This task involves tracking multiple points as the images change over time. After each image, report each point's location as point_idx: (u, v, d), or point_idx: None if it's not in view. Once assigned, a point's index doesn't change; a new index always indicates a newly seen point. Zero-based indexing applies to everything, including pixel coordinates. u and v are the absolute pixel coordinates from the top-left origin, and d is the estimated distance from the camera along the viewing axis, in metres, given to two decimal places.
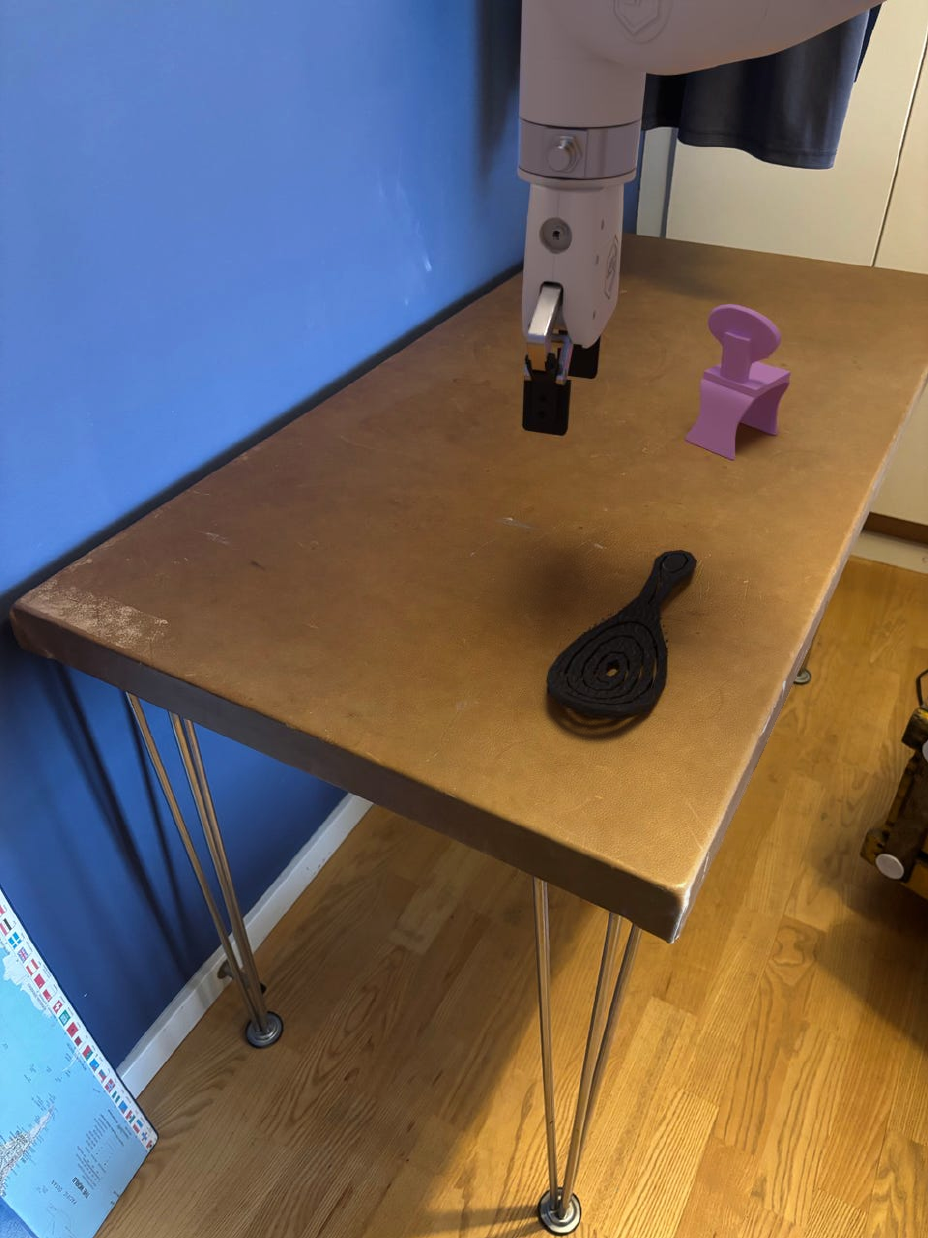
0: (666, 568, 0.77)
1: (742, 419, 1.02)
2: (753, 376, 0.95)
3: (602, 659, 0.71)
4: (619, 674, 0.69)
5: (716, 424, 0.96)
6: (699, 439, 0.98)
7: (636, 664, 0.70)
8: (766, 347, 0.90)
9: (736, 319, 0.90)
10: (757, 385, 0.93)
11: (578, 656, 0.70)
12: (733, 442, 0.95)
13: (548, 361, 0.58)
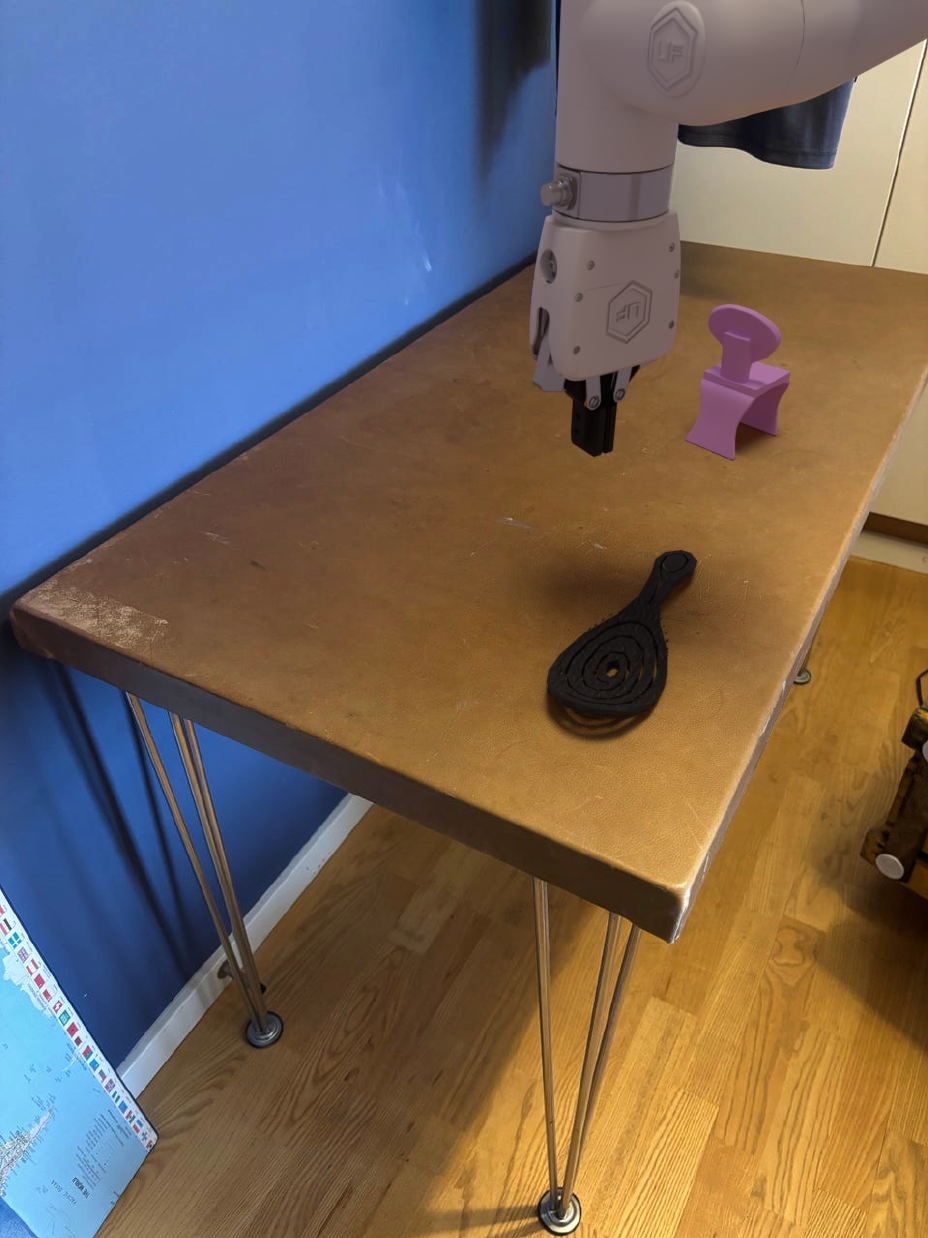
0: (666, 568, 0.77)
1: (742, 419, 1.02)
2: (753, 376, 0.95)
3: (602, 659, 0.71)
4: (619, 674, 0.69)
5: (716, 424, 0.96)
6: (699, 439, 0.98)
7: (636, 664, 0.70)
8: (766, 347, 0.90)
9: (735, 319, 0.90)
10: (757, 385, 0.93)
11: (578, 656, 0.70)
12: (733, 442, 0.95)
13: (566, 388, 0.65)
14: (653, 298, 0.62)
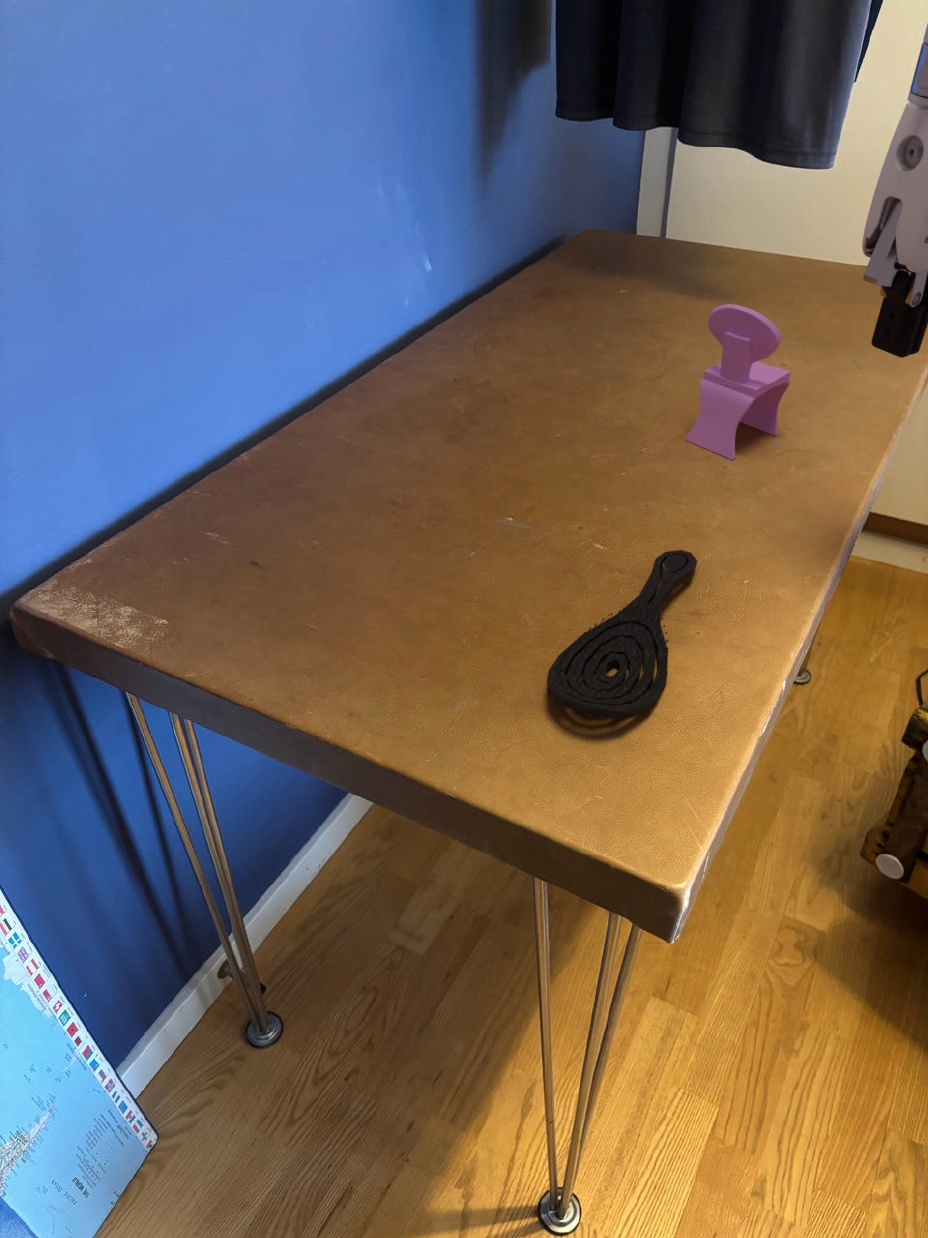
0: (666, 568, 0.77)
1: (742, 419, 1.02)
2: (753, 376, 0.95)
3: (602, 659, 0.71)
4: (619, 674, 0.69)
5: (716, 424, 0.96)
6: (699, 439, 0.98)
7: (636, 664, 0.70)
8: (766, 347, 0.90)
9: (736, 319, 0.90)
10: (757, 385, 0.93)
11: (578, 656, 0.70)
12: (733, 442, 0.95)
13: (894, 283, 0.65)
14: None
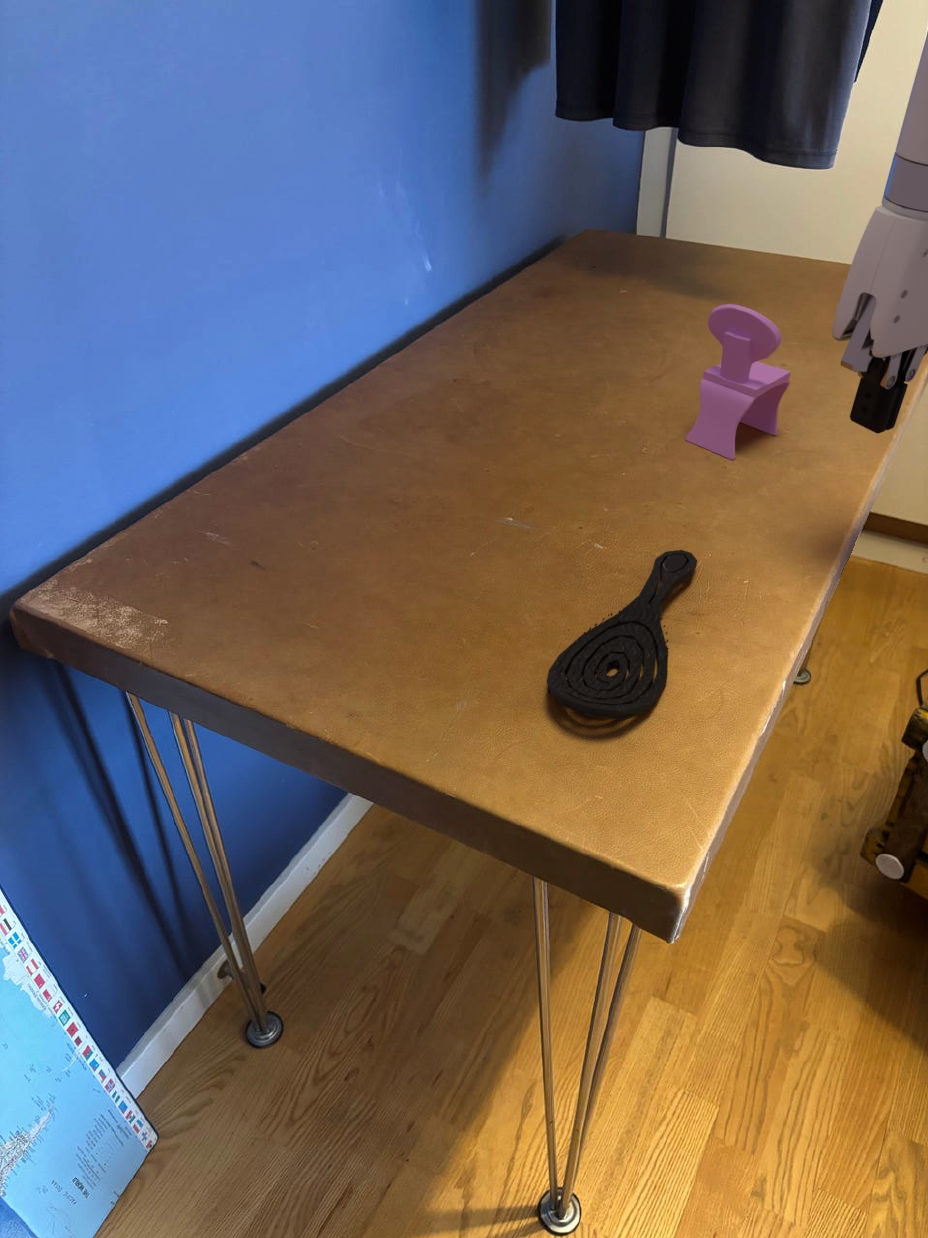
0: (666, 568, 0.77)
1: (742, 419, 1.02)
2: (753, 376, 0.95)
3: (602, 659, 0.71)
4: (619, 674, 0.69)
5: (716, 424, 0.96)
6: (699, 439, 0.98)
7: (636, 664, 0.70)
8: (766, 347, 0.90)
9: (735, 319, 0.90)
10: (757, 385, 0.93)
11: (578, 656, 0.70)
12: (733, 442, 0.95)
13: None
14: None
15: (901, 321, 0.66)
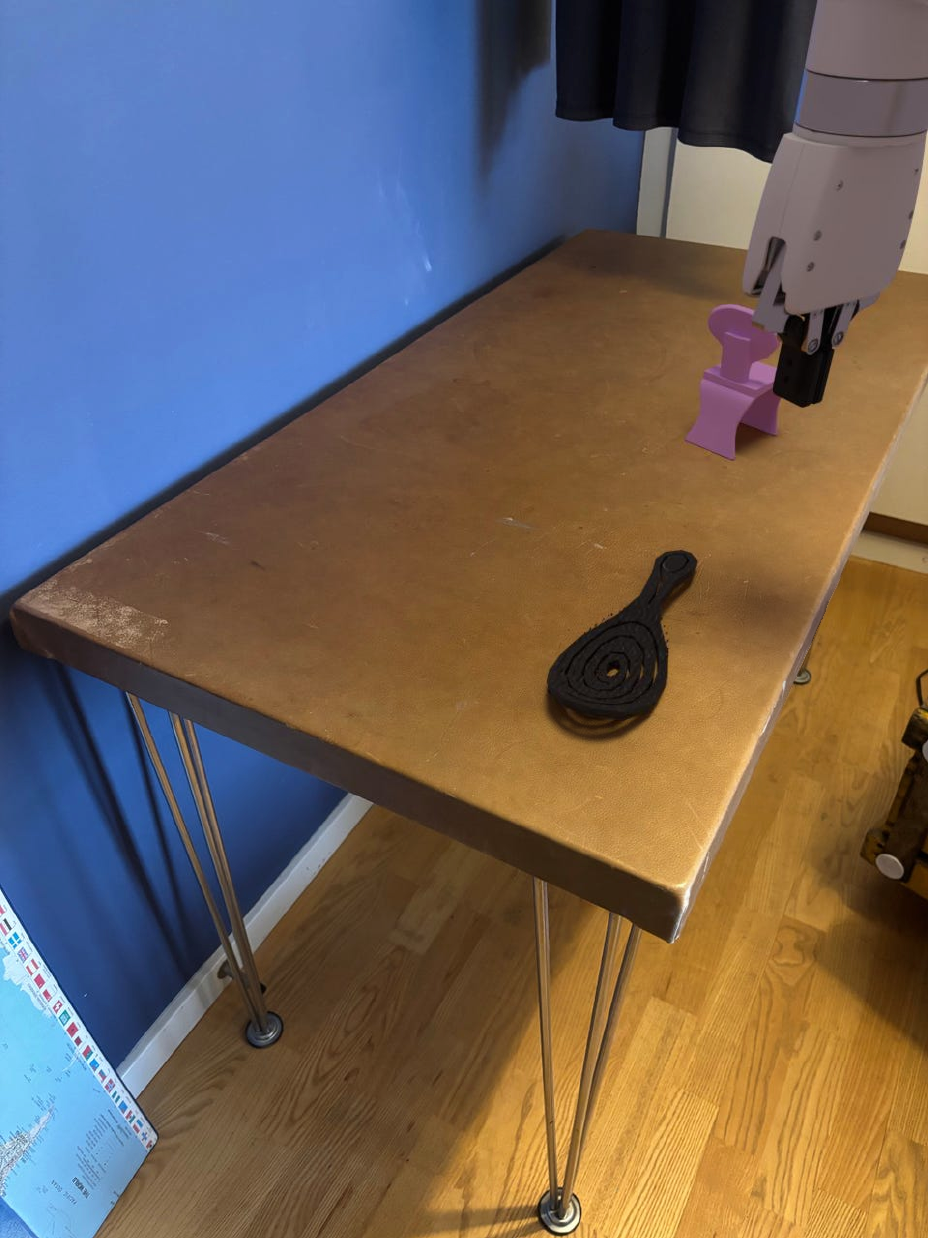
0: (667, 568, 0.77)
1: (742, 419, 1.02)
2: (753, 376, 0.95)
3: (603, 659, 0.71)
4: (620, 674, 0.69)
5: (716, 424, 0.96)
6: (699, 439, 0.98)
7: (637, 664, 0.70)
8: (766, 347, 0.90)
9: (735, 319, 0.90)
10: (757, 385, 0.93)
11: (579, 656, 0.70)
12: (733, 442, 0.95)
13: None
14: None
15: (817, 270, 0.56)
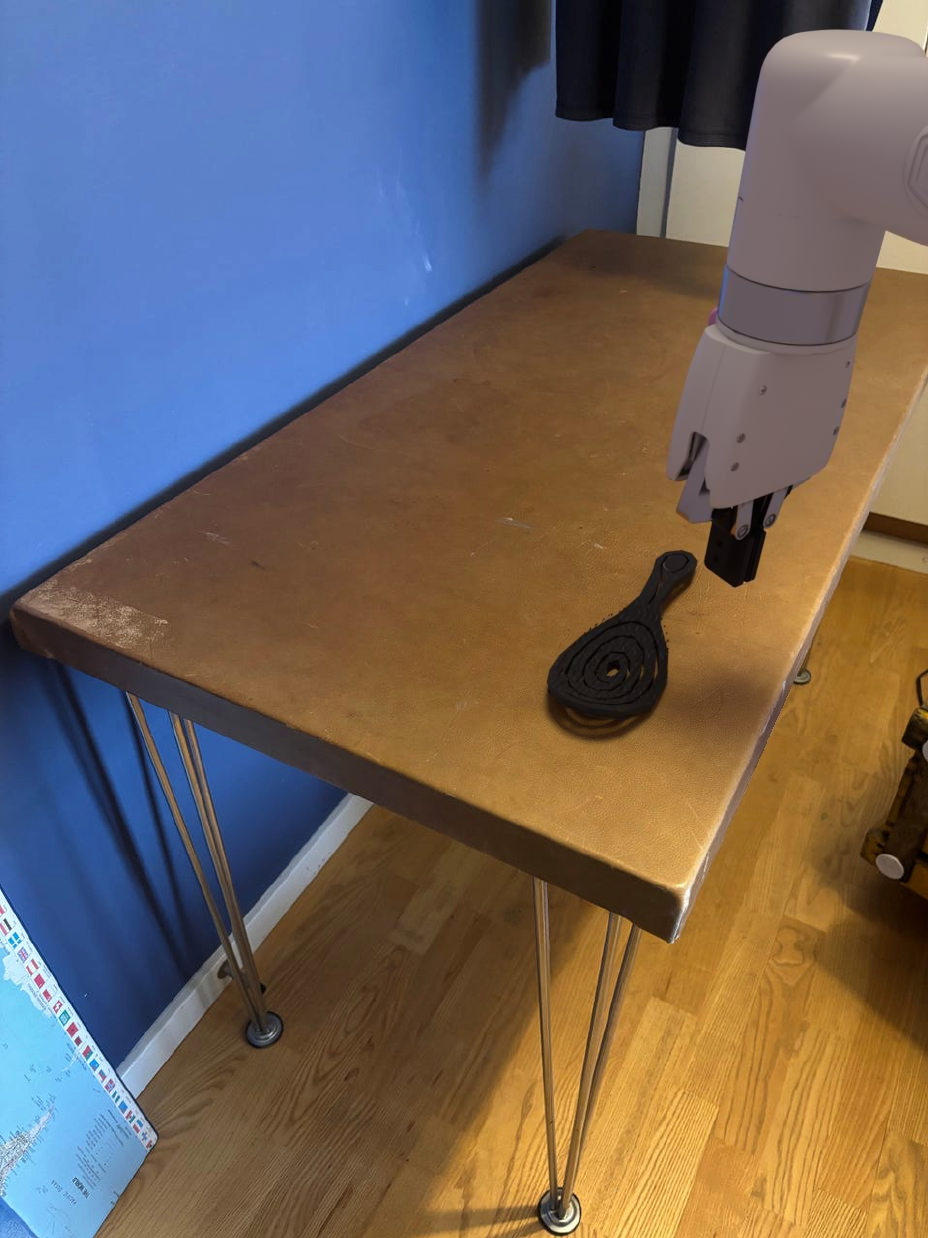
0: (667, 568, 0.77)
1: None
2: None
3: (603, 659, 0.71)
4: (620, 674, 0.69)
5: None
6: None
7: (637, 664, 0.70)
8: None
9: None
10: None
11: (579, 656, 0.70)
12: None
13: None
14: None
15: (742, 469, 0.52)
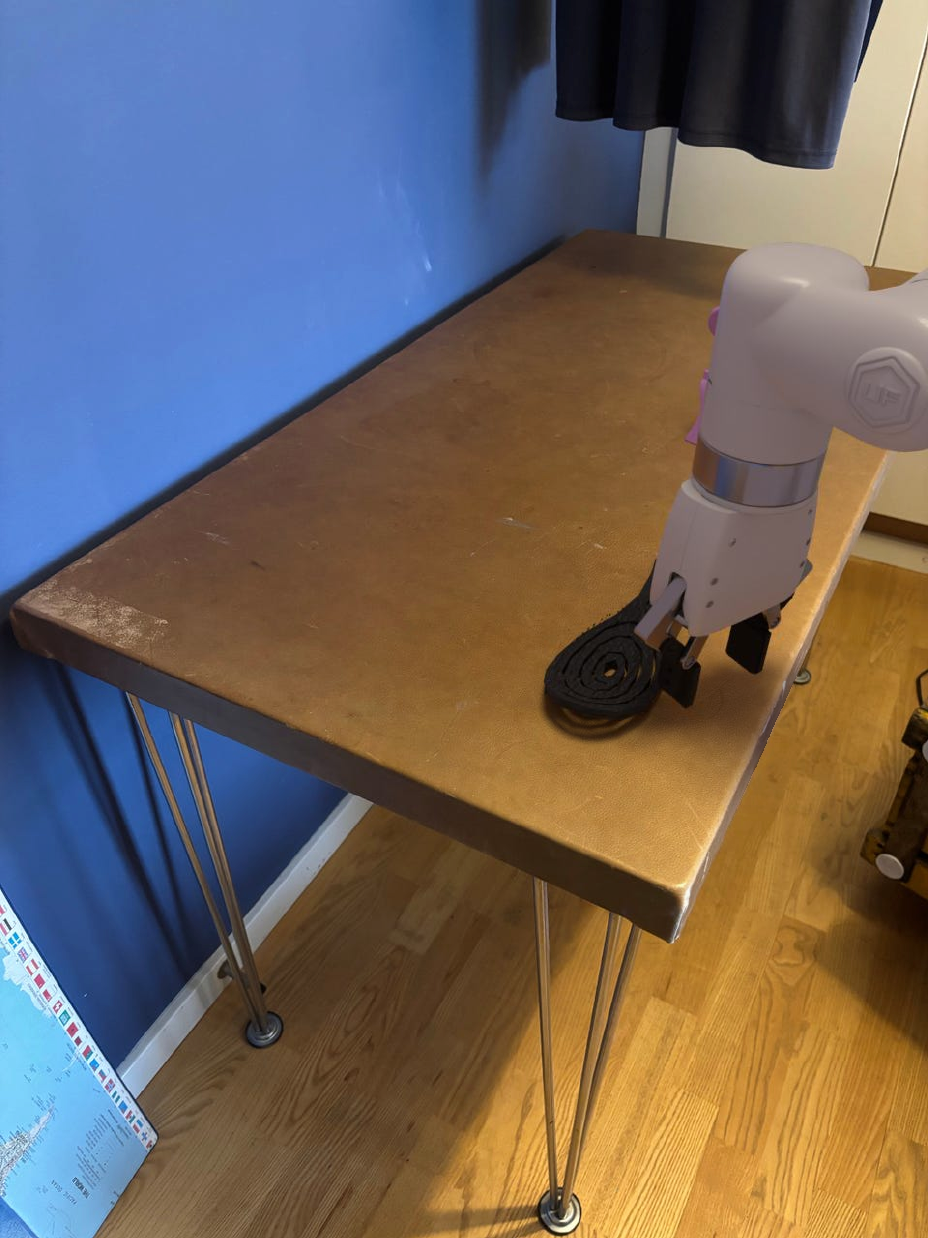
0: None
1: None
2: None
3: (600, 659, 0.71)
4: (617, 674, 0.69)
5: None
6: None
7: (634, 664, 0.70)
8: None
9: None
10: None
11: (576, 656, 0.70)
12: None
13: None
14: None
15: (716, 605, 0.58)
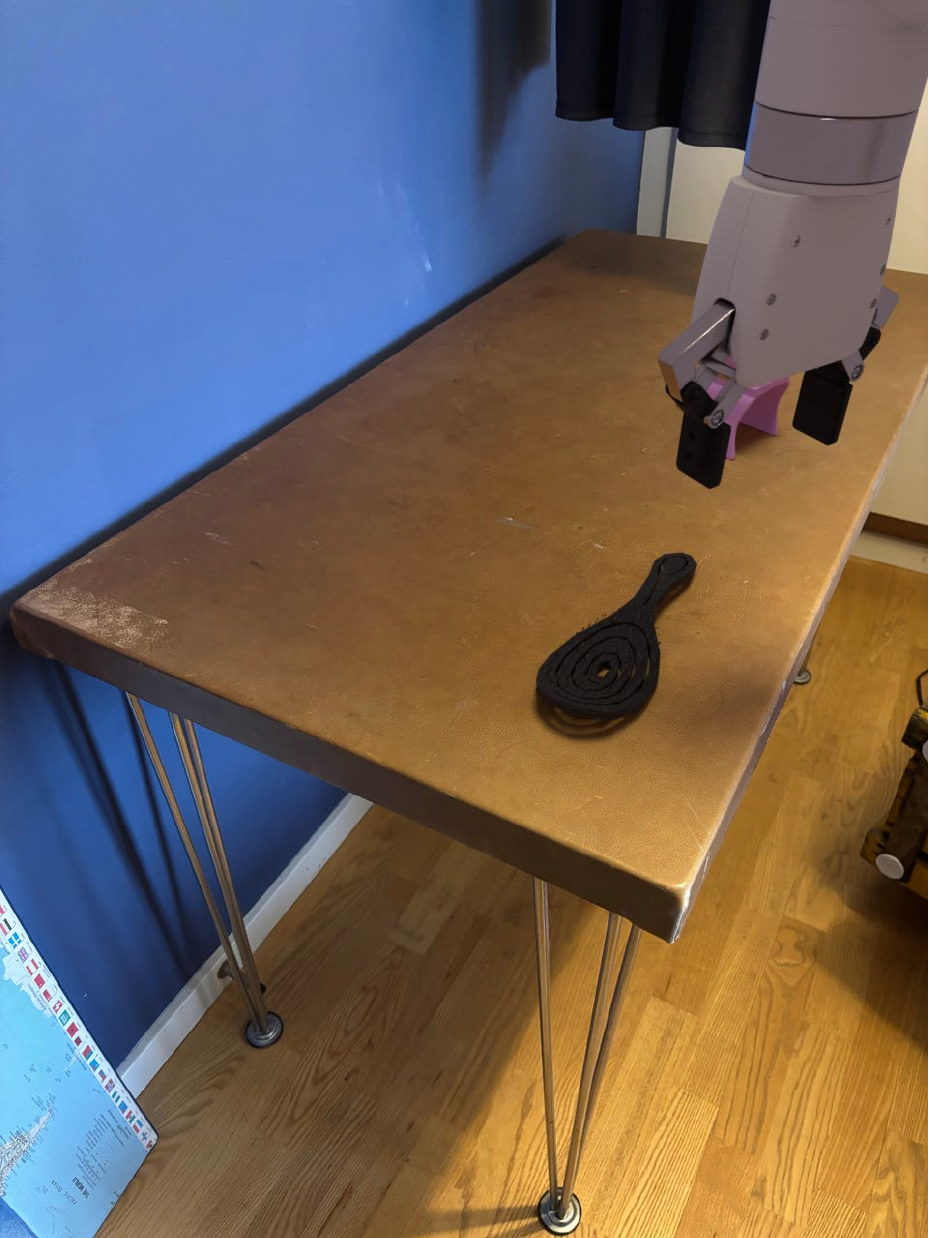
0: (664, 570, 0.77)
1: (742, 419, 1.02)
2: None
3: (594, 659, 0.71)
4: (610, 675, 0.69)
5: None
6: None
7: (628, 665, 0.70)
8: None
9: None
10: None
11: (570, 656, 0.70)
12: (733, 442, 0.95)
13: None
14: None
15: (772, 338, 0.47)
